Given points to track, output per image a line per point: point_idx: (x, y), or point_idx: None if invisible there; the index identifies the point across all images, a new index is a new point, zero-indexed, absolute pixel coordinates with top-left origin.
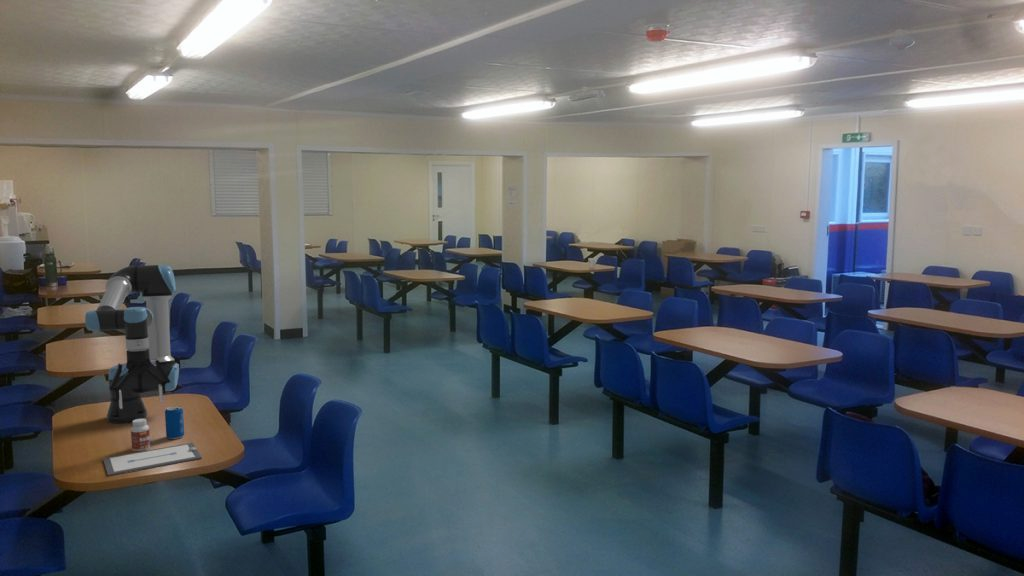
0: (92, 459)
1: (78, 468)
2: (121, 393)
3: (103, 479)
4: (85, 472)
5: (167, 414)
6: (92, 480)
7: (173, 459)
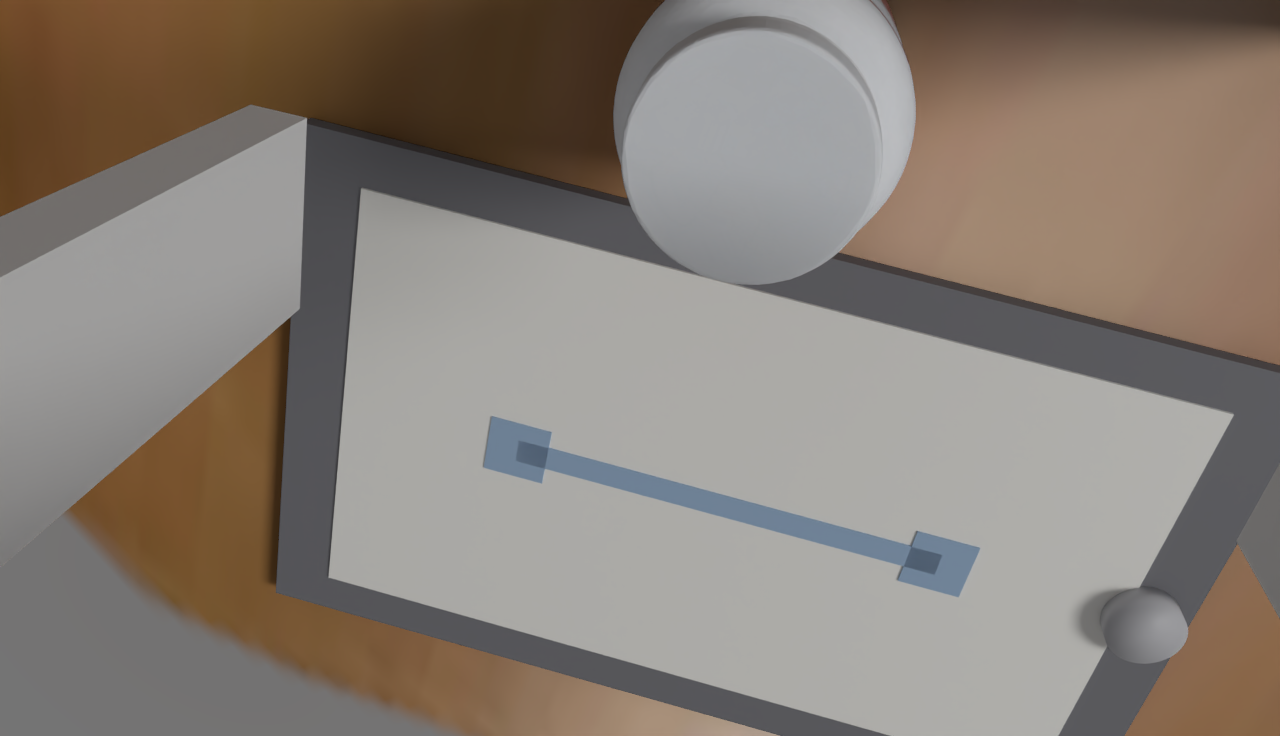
0: (210, 3)
1: None
2: (15, 550)
3: (243, 613)
4: None
5: None
6: (166, 571)
7: (849, 696)
